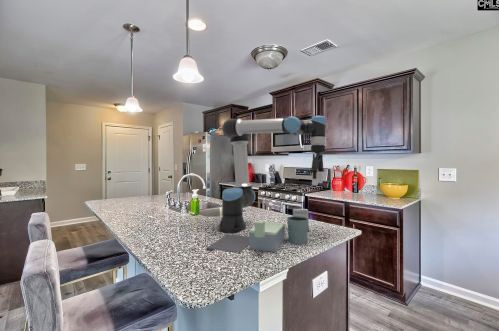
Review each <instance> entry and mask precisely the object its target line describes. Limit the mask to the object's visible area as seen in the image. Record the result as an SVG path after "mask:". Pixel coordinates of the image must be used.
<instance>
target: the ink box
mask: <svg viewBox="0 0 499 331" xmlns="http://www.w3.org/2000/svg"><path fill="white" fill-rule="evenodd" d="M292 216H300V217H306V218H308V232H309V229H310V228H309V227H310V226H309V221H310V220H309V210H308V209H307V208H293V209H292Z"/></svg>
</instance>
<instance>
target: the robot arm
mask: <svg viewBox="0 0 499 331" xmlns="http://www.w3.org/2000/svg"><path fill="white" fill-rule="evenodd" d="M221 128H222V129H221V131H222V133H223V135H224V136H225V137H226V138H228V139H230V140H229V141H230V145H231V146H232V148H233V149H232V151H233V161H234V162H233V165H234V176H235V178H234V179H235V184H234V185H233V186H232V187H230V188H229V187H228V188H225V189H223V191H222V196H221V200H222V208H221V209H222V215H221V219H220V222H219V225H218V226H219V227H218V228H219V231H220V232H223V233H227V234H228V233H229V234H230V233H231V234H234V233H240V232H242V231H245V230H246V228H247V227H246V222H245V220H244V217H243V212H244V210H243V209H244V208H249V207H250V206H252V205H253V203H255V200H256V193H255V191H254V190H253V185H252V184H251V183H250V177H249V176H250V172H249V160H248V158H249V157H248V146H247V145H248V144H249V143H250V137H251V134H253V135H254V134H276V133H277V134H280V133H281V134H282V133H284V134H286V133H289V134H290V135H291V136H301V135H303V136H304V135H311V136H310V144H311V146H310V152H311V153H312V161H311V170H310V173H312V174H311V185H312V186H318V184H323V183H324V182H323V181H324V180H323V178H324V177H323V176H324V174H323V173H324V172H325V169H324V159H323V157H324V155H323V154H322V153H325V152H326V141H327V140H328V139H327V138H326V129H327V124H326V117H325V116H323V115H315V116H313V115H312V116H311V118H310V120H301V119H299V118H298V117H296V116H293V115H292V116H288V117H281V118H266V119H265V118H264V119H262V118H260V119H244V120H243V119H241V118H228V119H227V120H225V121H224V122H223V124H222V127H221Z"/></svg>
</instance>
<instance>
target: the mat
mask: <svg viewBox="0 0 499 331" xmlns="http://www.w3.org/2000/svg"><path fill="white" fill-rule="evenodd" d="M247 247H249V236H247V235H245V236H244V235H239V234H230V233H229V234H228V233H227V234H226V235H224V236H223V237H221V238H219V239H218V240H216V241H215V242H213V243H211V244H210V245H209V246H207V247H206V251H210V252H211V251H212V252H213V251H214V250H216V251H222V252H230V253H237V254H240V253H242V252H243V251H244V250H245V249H246V248H247Z"/></svg>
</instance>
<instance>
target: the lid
mask: <svg viewBox="0 0 499 331" xmlns="http://www.w3.org/2000/svg"><path fill="white" fill-rule="evenodd" d="M284 226H285V227H286V223H285V222H276V221H275V222H274V221H265V220H264V221H263V220H256V221H254V226H253V227H252V228H250V229H249V230H248V234H249V233H255V237H262V238H263V237H264V236H265V234H268V235H277V234H278V232H279V231H280V230H281V229H282V228H283V227H284Z"/></svg>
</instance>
